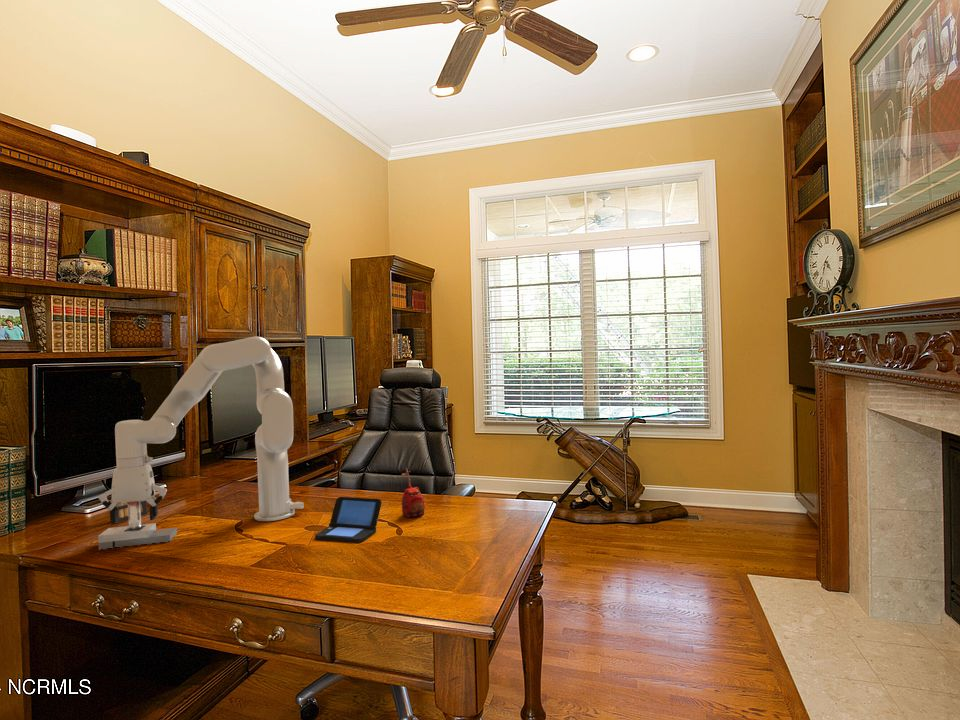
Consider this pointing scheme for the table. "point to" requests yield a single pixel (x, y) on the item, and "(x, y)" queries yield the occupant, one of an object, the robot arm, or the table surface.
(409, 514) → the red clay folk toy
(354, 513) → the game console
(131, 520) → the pin
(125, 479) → the robot arm
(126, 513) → the ammunition clip
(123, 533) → the chain link
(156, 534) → the chain link
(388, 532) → the table surface
